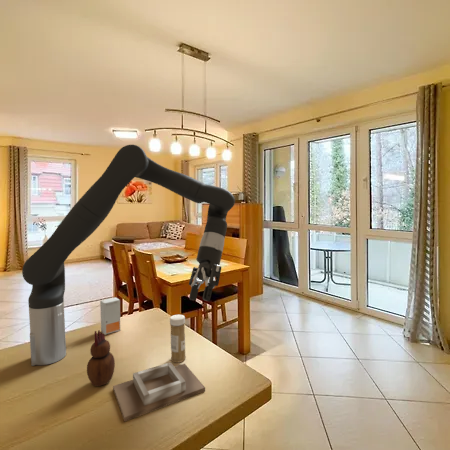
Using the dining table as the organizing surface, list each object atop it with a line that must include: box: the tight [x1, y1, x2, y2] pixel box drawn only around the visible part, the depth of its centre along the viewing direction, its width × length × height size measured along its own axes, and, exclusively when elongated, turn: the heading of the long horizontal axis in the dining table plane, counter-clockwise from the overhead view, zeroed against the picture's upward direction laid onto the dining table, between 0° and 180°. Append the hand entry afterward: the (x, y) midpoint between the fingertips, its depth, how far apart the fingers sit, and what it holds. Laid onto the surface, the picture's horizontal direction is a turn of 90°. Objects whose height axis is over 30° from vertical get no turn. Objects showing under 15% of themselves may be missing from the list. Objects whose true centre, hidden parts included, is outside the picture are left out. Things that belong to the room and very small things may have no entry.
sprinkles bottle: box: [169, 314, 187, 363], centre depth 90 cm, size 5×5×13 cm
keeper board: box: [112, 362, 206, 422], centre depth 75 cm, size 20×13×4 cm, turn 121°
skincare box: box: [99, 296, 121, 336], centre depth 110 cm, size 6×4×12 cm
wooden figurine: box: [86, 329, 116, 387], centre depth 78 cm, size 7×6×15 cm
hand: (198, 300), depth 87 cm, fingers open, 8 cm apart
